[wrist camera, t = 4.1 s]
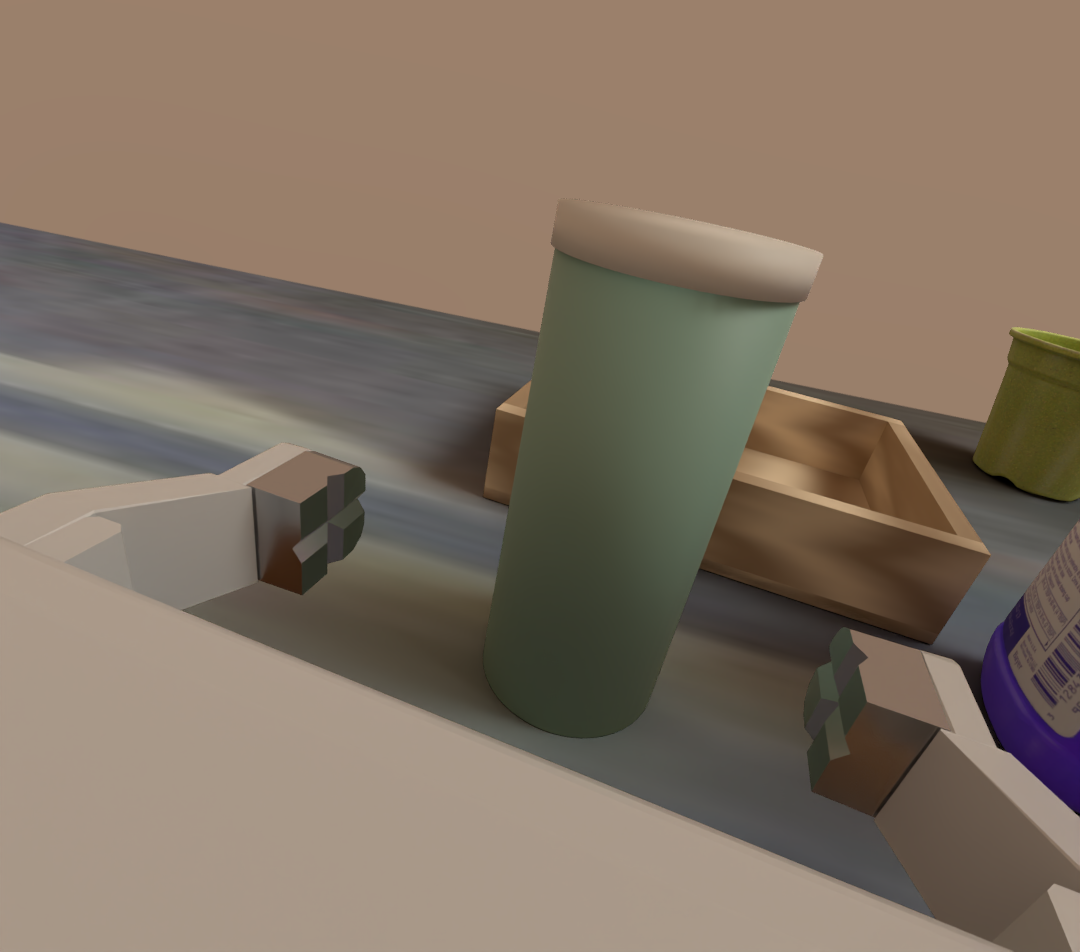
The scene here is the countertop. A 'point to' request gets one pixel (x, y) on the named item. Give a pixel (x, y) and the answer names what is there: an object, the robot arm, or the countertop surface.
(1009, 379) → the plant pot
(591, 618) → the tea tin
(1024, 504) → the countertop surface
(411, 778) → the robot arm
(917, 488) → the crate
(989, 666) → the bottle
